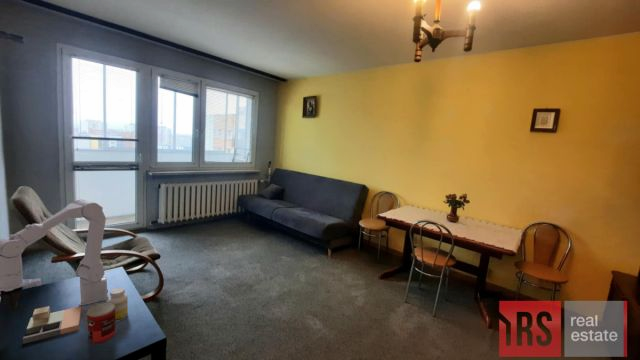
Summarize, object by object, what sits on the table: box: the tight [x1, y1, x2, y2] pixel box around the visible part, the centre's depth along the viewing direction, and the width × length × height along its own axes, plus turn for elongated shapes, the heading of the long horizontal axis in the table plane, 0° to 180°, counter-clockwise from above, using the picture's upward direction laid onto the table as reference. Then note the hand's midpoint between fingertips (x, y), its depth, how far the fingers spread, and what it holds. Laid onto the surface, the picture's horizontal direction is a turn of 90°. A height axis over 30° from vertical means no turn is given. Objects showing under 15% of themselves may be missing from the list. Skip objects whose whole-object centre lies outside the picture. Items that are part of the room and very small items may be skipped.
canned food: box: [86, 302, 116, 344], centre depth 103 cm, size 8×8×11 cm
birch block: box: [32, 305, 51, 325], centre depth 106 cm, size 4×4×4 cm
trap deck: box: [22, 306, 82, 345], centre depth 107 cm, size 14×14×2 cm
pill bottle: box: [107, 287, 129, 323], centre depth 113 cm, size 6×6×12 cm
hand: (13, 308), depth 101 cm, fingers closed
